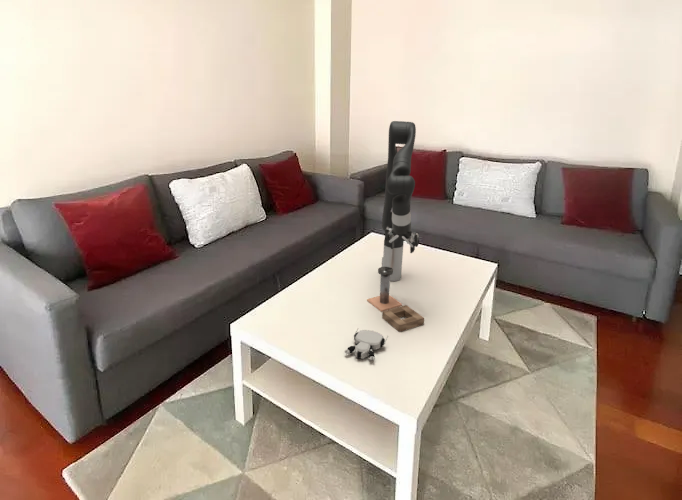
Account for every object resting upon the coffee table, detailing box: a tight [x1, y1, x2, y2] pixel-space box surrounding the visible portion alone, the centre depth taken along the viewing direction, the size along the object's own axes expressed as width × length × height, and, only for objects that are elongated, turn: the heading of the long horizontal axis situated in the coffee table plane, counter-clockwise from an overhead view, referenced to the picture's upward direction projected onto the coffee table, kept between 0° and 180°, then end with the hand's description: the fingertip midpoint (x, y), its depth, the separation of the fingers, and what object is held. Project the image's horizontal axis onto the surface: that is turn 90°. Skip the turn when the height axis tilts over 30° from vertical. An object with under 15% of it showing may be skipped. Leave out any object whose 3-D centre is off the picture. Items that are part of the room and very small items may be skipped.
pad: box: [366, 294, 403, 313], centre depth 201 cm, size 11×11×1 cm
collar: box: [381, 304, 425, 333], centre depth 187 cm, size 12×12×3 cm
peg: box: [377, 266, 393, 304], centre depth 198 cm, size 6×6×15 cm
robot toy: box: [344, 327, 389, 361], centre depth 168 cm, size 12×4×15 cm
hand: (402, 249), depth 195 cm, fingers open, 8 cm apart
